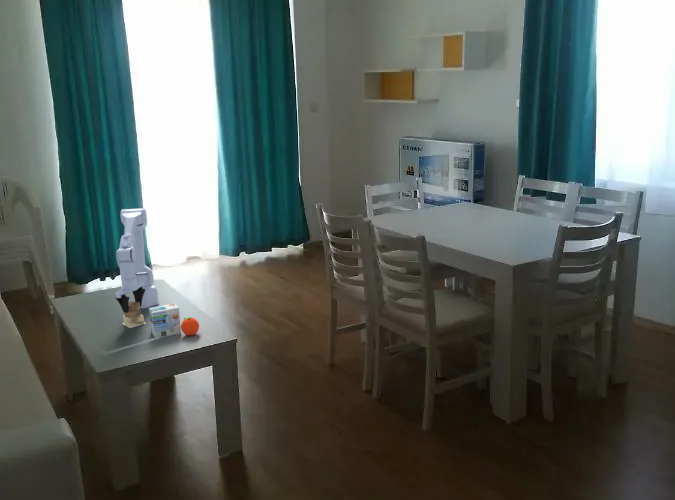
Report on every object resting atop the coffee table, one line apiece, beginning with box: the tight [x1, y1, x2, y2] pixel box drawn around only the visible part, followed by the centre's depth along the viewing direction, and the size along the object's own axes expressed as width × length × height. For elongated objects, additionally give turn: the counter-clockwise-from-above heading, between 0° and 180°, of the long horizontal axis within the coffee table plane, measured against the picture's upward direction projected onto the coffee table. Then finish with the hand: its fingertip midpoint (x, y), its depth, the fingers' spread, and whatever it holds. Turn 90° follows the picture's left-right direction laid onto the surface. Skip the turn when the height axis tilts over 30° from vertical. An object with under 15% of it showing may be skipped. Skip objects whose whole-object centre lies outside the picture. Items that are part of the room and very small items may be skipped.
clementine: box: [180, 316, 200, 336], centre depth 257 cm, size 8×7×7 cm
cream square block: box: [122, 313, 145, 328], centre depth 269 cm, size 6×6×4 cm
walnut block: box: [123, 300, 142, 318], centre depth 268 cm, size 4×4×5 cm
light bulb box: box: [148, 302, 182, 339], centre depth 258 cm, size 11×7×11 cm, turn 117°
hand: (132, 309), depth 268 cm, fingers open, 7 cm apart
